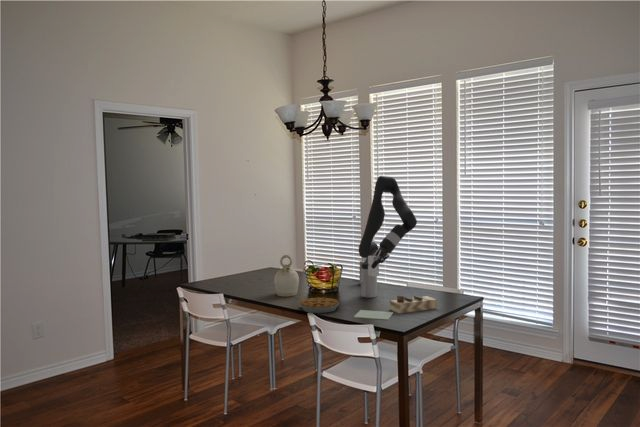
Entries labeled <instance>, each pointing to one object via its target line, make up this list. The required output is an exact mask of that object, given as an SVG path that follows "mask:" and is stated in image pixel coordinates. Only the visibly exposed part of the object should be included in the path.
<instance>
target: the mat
mask: <svg viewBox="0 0 640 427" xmlns="http://www.w3.org/2000/svg"><path fill="white" fill-rule="evenodd" d="M393 314H394V311H382V310H381V311H380V310H378V311H377V310H366V309H365V310H364V309H360V310H359V311H358V312H357V313H356V314H355V315H354V316H353V318H356V319H368V320H370V319H372V320H383V321H386V320H387V321H389V319H390V318H391V317H392V316H393Z"/></svg>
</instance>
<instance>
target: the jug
mask: <svg viewBox="0 0 640 427" xmlns="http://www.w3.org/2000/svg"><path fill="white" fill-rule="evenodd" d="M285 258H288V259H289V261H290V262H289V264H284V262H283V261H284V259H285ZM279 264H280V265H281V267H282V268H281V269H279V270H277V272H276V273H275V275H274V278H273V279H274V280H273V281H274V288H275V292H276V295H277V296H279V297H283V298H284V297H285V298H287V297H294V296H297V293H298V290H299V285H300V278H299V274H298V272H297V271H296V270H295V269H293V268H291V266H292V264H293V258H292V257H291V256H290V255H289V254H285V255H284V254H283V255H282V257H280V259H279Z"/></svg>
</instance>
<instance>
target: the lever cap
mask: <svg viewBox="0 0 640 427" xmlns="http://www.w3.org/2000/svg"><path fill="white" fill-rule="evenodd" d="M377 258H378V257H377V256H368V275H370V276H377V277H378V276H380V265H379V264H378V265H377V266H376V267H375V269H373V268H372V267H371V265H372V264H373V263H374V262H375V261H376V259H377Z"/></svg>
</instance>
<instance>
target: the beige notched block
mask: <svg viewBox="0 0 640 427" xmlns="http://www.w3.org/2000/svg"><path fill="white" fill-rule="evenodd" d="M437 302H438V301H437V298H434V297H432V296H428V295H424V296H419V295H413V297H408V296H405V295H401V294H400V295H396V299H391V300H389V310H391V312H393V313H394V312H395V313H397V314H404V313H413V312H420V311H427V310H434V309H437V307H438V306H437V305H438V304H437Z"/></svg>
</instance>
